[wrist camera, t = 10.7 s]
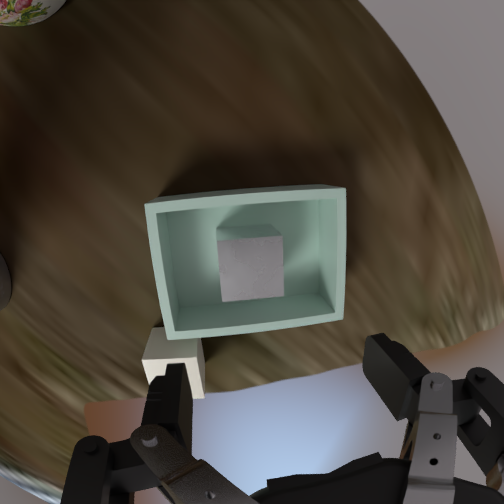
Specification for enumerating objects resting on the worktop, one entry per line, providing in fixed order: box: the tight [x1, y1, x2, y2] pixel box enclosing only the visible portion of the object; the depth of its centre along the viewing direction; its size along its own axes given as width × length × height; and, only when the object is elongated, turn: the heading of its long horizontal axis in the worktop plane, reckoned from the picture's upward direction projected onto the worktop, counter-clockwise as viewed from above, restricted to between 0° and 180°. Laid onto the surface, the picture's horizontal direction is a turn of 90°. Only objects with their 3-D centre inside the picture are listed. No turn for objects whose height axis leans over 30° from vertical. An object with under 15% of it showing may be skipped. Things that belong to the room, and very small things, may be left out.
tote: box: [145, 184, 346, 340], centre depth 27 cm, size 16×12×6 cm
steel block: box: [216, 224, 284, 302], centre depth 26 cm, size 5×5×5 cm
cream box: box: [142, 327, 205, 399], centre depth 29 cm, size 5×5×6 cm
